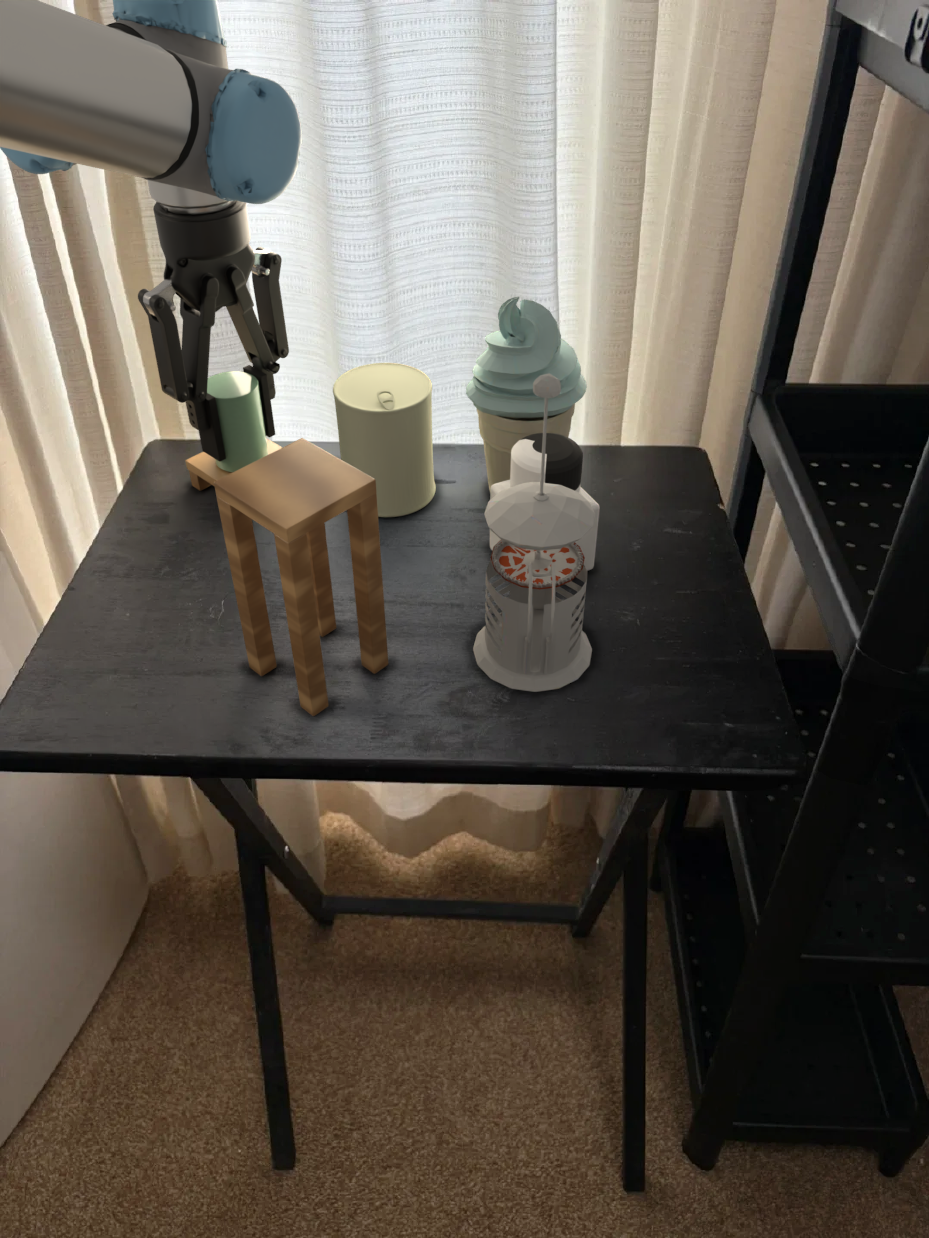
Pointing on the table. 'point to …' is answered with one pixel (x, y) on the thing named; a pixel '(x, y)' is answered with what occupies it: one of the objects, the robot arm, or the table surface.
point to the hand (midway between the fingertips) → (239, 442)
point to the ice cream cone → (522, 382)
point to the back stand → (211, 468)
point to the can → (388, 432)
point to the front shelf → (303, 557)
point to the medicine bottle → (551, 477)
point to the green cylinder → (239, 418)
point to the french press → (536, 580)
